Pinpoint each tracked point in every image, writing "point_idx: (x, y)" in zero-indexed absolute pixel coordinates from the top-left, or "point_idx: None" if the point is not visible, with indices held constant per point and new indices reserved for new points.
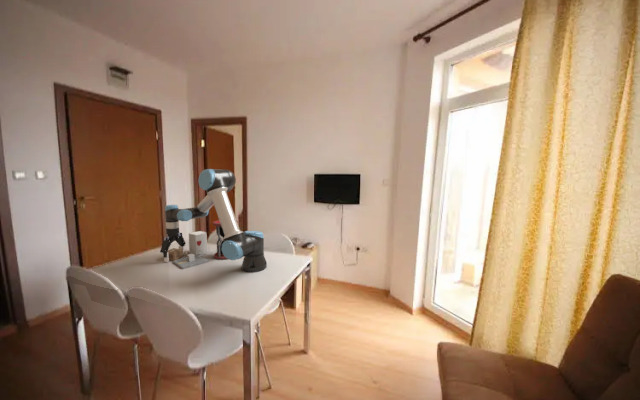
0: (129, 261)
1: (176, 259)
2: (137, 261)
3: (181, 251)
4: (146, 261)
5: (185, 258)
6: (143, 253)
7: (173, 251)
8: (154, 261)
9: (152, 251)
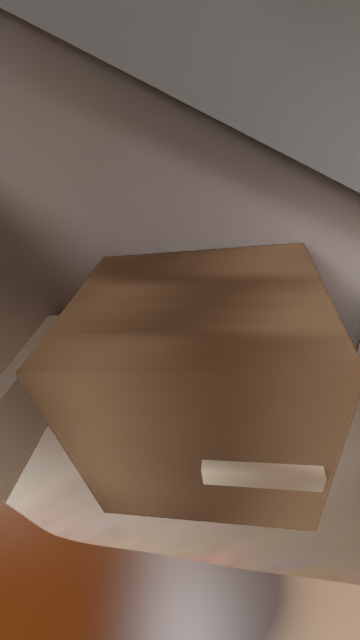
0: (356, 556)
1: (262, 253)
2: (354, 531)
3: (83, 332)
4: (350, 494)
5: (202, 22)
6: (185, 558)
7: (284, 433)
8: (346, 450)
9: (132, 544)
